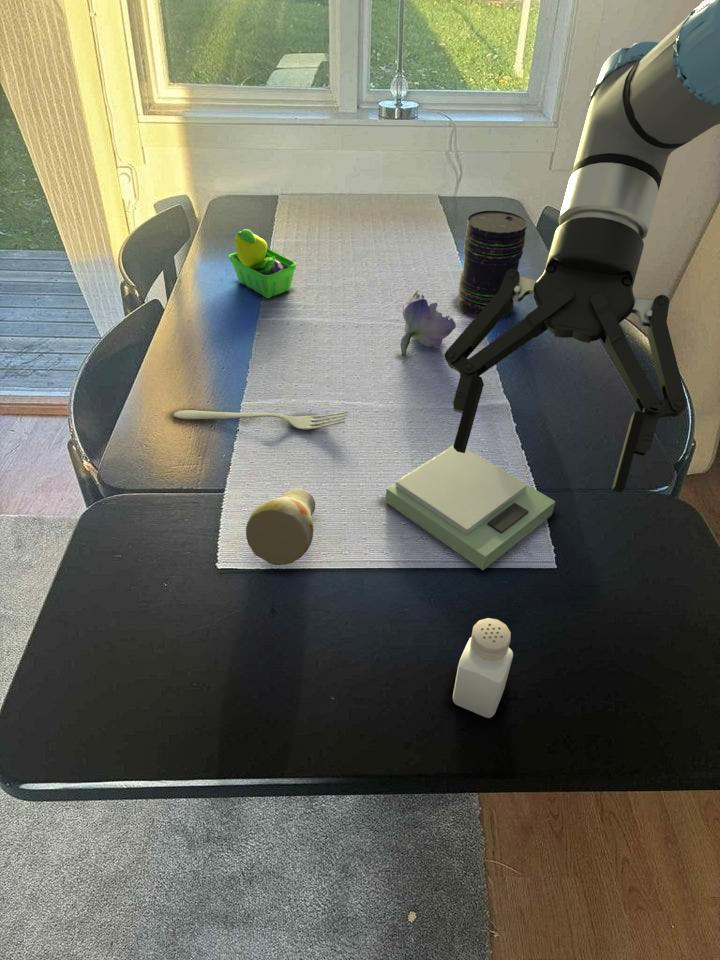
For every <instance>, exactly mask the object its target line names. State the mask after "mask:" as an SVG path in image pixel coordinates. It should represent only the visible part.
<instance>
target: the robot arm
mask: <svg viewBox="0 0 720 960" xmlns="http://www.w3.org/2000/svg"><path fill="white" fill-rule="evenodd" d="M598 75H599V76H598V78H597V81H596V83H595V86H594V88H593V90H592V91H591V94H590V99H589V101H588V108H587V114H586V118H585V122H584V125H583V128H582V129H583V130H582V133H581V137H580V141H579V145H578V148H577V152H576V156H575V160H574V163H573V168H572V171H571V175H570V178H569V179H568V183H567V187H566V191H565V195H564V199H563V203H562V206H561V208H560V209H561V210H560V213H559V216H558V225H559V226H558V227H556V229H555V231H554V235H553V237H552V241H551V246H550V248H549V249H550V250H549V254H548V257H547V261H546V263H545V268H544V271H543V273H542V275H541V276H540V277H539V278H538V279H533V278H529V277H526V276H523V275H520V272H519V270H518V271H517V270H516V269H510V270H508V271H507V272H506V274H505V277H504V279H503V282H502V284H501V287H500V289H499V291H498V293H497V294H496V295H495V296H494V297H493V298H492V299H491V301H490V302H489V303H488V304H487V305H486V306H485V307H484V309H483V310H482V311H481V312H480V313H479V314H478V315H477V317H475V318H474V319H473V320H472V321H471V322H470V323H469V325H467V327H466V328H465V329H464V330H463V331H462V332H461V334H460V335H459V336H458V337H457V338H456V339H455V340H454V342H452V344H451V345H450V346H449V347H448V348H447V350H446V351H445V352H444V360H445V362H446V364H447V366H448V367H449V368H450V369H451V370H454V371H456V372H457V373H459V379H458V383H457V387H456V391H455V394H454V396H453V397H454V398H453V401H452V404H453V405H452V407H453V410H454V412H455V413H459V414H461V417H460V421H459V424H458V428H457V430H456V431H457V432H456V435H455V439H454V442H453V445H454V446H453V445H452V446H453V447H454V449H455V450H456V451H457V452H461V453H465V451H466V449H467V447H468V443H469V441H470V436H471V432H472V429H473V426H474V423H475V418H476V415H477V411H478V407H479V404H480V400H481V397H482V394H483V393H482V392H483V389H484V386H485V385H484V384H485V383H484V380H483V377H482V375H483V374H485V373H486V372H488V371H489V370H490V369H492V368H493V367H494V366H496V365H497V364H499V363H500V362H501V361H503V360H504V359H506V358H507V357H508V356H510V355H511V354H513V353H514V352H515V351H517V350H518V349H520V348H521V347H523V346H524V345H525V344H526V343H528V342H530V341H531V340H533V339H535V338H538V337H539V336H540V335H542V334H543V333H544V332H546V331H549V332H550V333H551V334H553V336H554V337H557V338H562V339H568V338H573V339H575V340H577V341H579V342H583V343H588V344H591V342H595V341H598V340H600V342H601V344H602V346H603V347H604V349H605V352H607V354H609V356H610V358H611V360H612V362H613V363H614V366H615V368H616V369H617V371H618V372H619V373H618V374H619V375H620V376H621V378H622V380H623V383H624V384H625V386H626V387H627V389H628V391H629V393H630V395H631V397H632V399H633V400H634V402H635V404H636V406H637V408H638V410H634V412H633V413H632V415H631V416H630V420H629V423H628V427H627V431H626V435H625V439H624V442H623V446H622V449H621V454H620V456H619V459H618V460H619V461H618V465H617V469H616V472H615V475H614V479H613V483H612V487H611V491H613V492H617V493H623V492H624V490H625V488H626V485H627V480H628V478H629V474H630V469H631V466H632V463H633V460H634V459H633V457H634V455H638V456H642V457H643V456H645V455H646V454H647V453H648V452H649V451H650V449H651V447H652V443H653V440H654V436H655V432H656V429H657V424H658V421H659V420H660V419H662V418H666V417H672V418H673V417H675V418H676V417H679V415H680V414H681V413H683V412H684V411H685V409H686V408H687V406H688V401H687V397H686V392H685V389H684V385H683V382H682V381H683V380H682V376H681V373H680V370H679V369H680V368H679V365H678V361H677V358H676V353H675V350H674V344H673V342H672V337H671V333H670V330H669V326H668V315H669V308H670V299H669V297H668V296H667V295H665V294H658V295H657V296H656V297H655V298H641V297H635V295H634V289H633V288H634V284H635V280H636V276H637V273H638V269H639V265H640V261H641V258H642V254H643V251H644V247H645V243H644V240H645V238H646V237H647V234H648V232H649V228H650V226H651V225H650V224H651V221H652V218H653V213H654V210H655V206H656V204H657V203H656V202H657V200H658V199H657V198H658V196H659V192H660V187H661V184H662V180H663V176H664V173H665V169H666V166H667V163H668V159H669V157H670V155H671V154H672V152H674V151H675V150H677V149H679V148H681V147H683V146H685V145H686V144H689V143H690V142H692V141H693V140H694V139H696V138H697V137H699V136H700V135H702V134H704V133H706V132H707V131H709V130H710V129H712V128H713V127H715V126H718V125H720V0H703V1H701V3H700V4H699V5H698V6H696V7H695V8H693V10H692V11H691V12H690V13H689V14H688V15H687V16H686V17H685V19H684V20H682V21H681V22H680V23H679V24H678V25H677V26H675V28H674V29H673V30H672V31H670V33H668V34H667V35H666V36H665V37H664V38H663V39H661V41H651V40H650V41H649V40H647V41H645V40H644V41H638V42H634V43H633V44H632V45H631V46H629V47H620V48H619V49H617V50H616V51H614V52H613V53H612V54H611V55H610V56H609V57H607V59H606V60H605V62H604V63H603V66H602V67H601V70H600V73H599V74H598ZM528 295H533V299H534V301H535V303H536V306H537V307H536V308H535V309H533V310H532V311H530V312H529V313H528V314H527V315H526V316H525V317H524V318H523V319H522V320H520V321H519V322H517V324H515V325H514V326H512V327H511V328H509V329H508V330H507V331H505V332H504V333H502V334H501V335H500V336H498V337H497V338H496V339H495V340H494V339H493V341H491V342H490V343H489V344H487V345H486V346H484V347H483V348H482V349H480V350H479V351H477V352H476V353H475V354H473V355H472V356H470V355H471V354H472V353H473V352H474V351H475V349H477V348H478V346H479V345H480V344H481V343H482V342H483V340H485V338H486V337H487V336H488V335H489V334H490V332H491V331H492V330H493V329H494V328H495V327H496V326H497V325H498V323H500V321H501V320H502V319H503V318H504V317H505V316H504V315H505V314H506V313H507V312H508V311H509V309H510V308H511V306H512V305H513V306H514V302H515V303H520V302H521V301H523V299H525V297H527V296H528ZM631 314H634V315H637V317H638V322H639V324H640V325H641V326H643V327H646V334H647V335H646V336H647V340H648V344H649V348H650V352H651V356H652V361H653V364H654V368H655V372H656V376H657V381H658V385H659V389H660V392H661V396H662V399H660V398H659V397H658V395H657V393H656V391H655V390H654V388H653V386H652V384H651V382H650V381H649V379H648V376H647V375H646V373H645V371H644V370H643V367H642V365H641V364H640V362H639V360H638V359H637V357H636V355H635V353H634V351H633V349H632V347H631V346H630V343H628V340H627V338H626V335H625V332H624V330H623V328H622V326H621V324H620V323H622V322H623V321H624V320H625V319H627V318H628V317H629V316H630V315H631ZM469 356H470V357H469Z"/></svg>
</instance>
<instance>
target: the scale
mask: <svg viewBox="0 0 720 960" xmlns="http://www.w3.org/2000/svg"><path fill="white" fill-rule="evenodd" d="M453 446H454V444H453V445H452V446H450V447H448V448H447V449H445V450H444V451H442V452H440V453H439V454H438V455H436V456H434V457H433V458H431V459H429V460H428V461H426V462H425V463H423V464H422V465H420V466H419V467H416V469H414V470H412V471H411V472H409V473H407V474H406V475H404V476H403V477H401V478H399V479H398V480H396V482H395V483H393V484H391V485H390V486H388V487H387V488H386V491H385V492H386V493H385V503H386V504H388V505H389V506H391V507H392V508H394V509H395V510H396V511H397V512H399V513H401V514H402V515H404V516H405V517H406V518H408V519H409V520H411V521H412V522H414V523H415V524H416V525H418V526H419V527H420V528H422V529H423V530H425V531H426V532H428V533H429V534H430V535H432V536H433V537H435V539H437V540H439V541H440V542H441V543H443V544H445V545H446V546H447V547H449V548H450V549H451V550H453V551H454V552H456V553H457V554H458V555H460V556H462V557H463V558H464V559H466V560H468V561H469V562H470V563H472V564H473V566H476V567H477V568H479V569H480V570H482V571H484V570H485V569H487V568H488V567H489V566H490V565H491V564H493V563H494V562H496V560H497V559H499V558H501V557H502V556H503V555H504V554H505V553H507V552H508V551H509V550H510V549H512V548H513V547H514V546H515V545H517V544H518V543H519V542H521V540H523V539H524V538H525V537H526V536H528V535H530V533H531V532H533V531H534V530H535V529H537V528H538V527H539V526H540V525H542V524H543V523H544V522H545V521H546V520H548V519H549V518H550V517H551V516H552V515H553V514H554V508H555V505H556V501H555V500H554V499H552V498H550V497H549V496H547V495H545V494H544V493H542V492H540V491H539V490H537V489H535V488H534V487H532V486H530V485H528V484H527V483H525V482H523V481H522V480H520V479H518V478H517V477H515V476H513V475H512V474H510V473H508V472H507V471H505V470H503V469H502V468H500V467H498V466H496V465H495V464H494V463H491V462H490V461H488V460H486V459H485V458H483V457H481V456H480V455H478V454H476V453H475V452H473V451H471V450H470V449H468V448H466V451H465V453H461V452H457V451H456V450H455V449H454V447H453Z"/></svg>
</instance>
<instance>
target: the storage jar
mask: <svg viewBox="0 0 720 960" xmlns="http://www.w3.org/2000/svg"><path fill="white" fill-rule="evenodd" d="M466 225H467V226H466V231H465V232H466V233H465V234H464V245H463V253H464V259H463V267H462V271H461V273H460V279H459V284H458V285H459V286H458V300H457V306H458V308H459V309H460V311H462V312H463V313H465V314H467V315H469V316H472V317H475V318H476V317H477V315H478V314H479V313H480V312H481V311H482V310H483V309H484V307H485V306H486V305H487V304H488V303H489V302H490V301H491V299H492V298H493V297H494V296H495V295H496V294H497V293H498V291H499V289H500V287H501V284H502V282H503V279H504V277H505V274H506V272H507V271H508V270H510V269H516V270H517V271H518V272H519V265H520V261H521V259H522V256H523V253H524V247H525V242H526V230H527V227H528V226H527V225H528V221H527V220H526V219H525V218H523V216H521V215H519V214H517V213H513V212H509V211H503V210H481V211H476V212H474V213H471V214H470V215H469V216H468V217H467V221H466ZM513 307H514V304H513V305H512V306H511V308H510V309H509V311H508V312H507V313H506V314H505V315H504V316H503V317H505V316H507V315H510V313H512V311H513Z"/></svg>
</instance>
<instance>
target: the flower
mask: <svg viewBox="0 0 720 960" xmlns="http://www.w3.org/2000/svg"><path fill="white" fill-rule="evenodd" d="M438 305H439V304H438V303H437V302H431V303H430V304H428V300H427V299H426V298H425V295H424V294H421V295H420V294H419V289H415V290H414V292H413V294H412V295H411V297H410V299H409V300H408V301H407V302H405V303H404V304H403V305H402V316H403V320H404V329H403V330H404V333H405V334H404V335H403V336H402V338H401V342H400V352H401V357H407V351H408V348H409V346H410V344H411V339H412V338H414V339H416V341H418V342H419V343H420V344H421V345H423V347H427V348H435V347H439V346H441V345H442V343H443V340H444V339H446V338H447V337H449V336H450V334H451V333H452V332H453V331H454V330H455V329H456V327H457V324H456V322H455V321H454V319H453V317H450V315H446V316H443V313H442V312H439V311H438V310H437V307H438Z"/></svg>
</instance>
